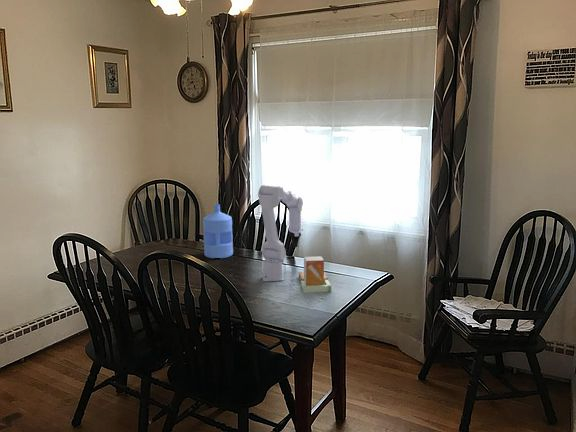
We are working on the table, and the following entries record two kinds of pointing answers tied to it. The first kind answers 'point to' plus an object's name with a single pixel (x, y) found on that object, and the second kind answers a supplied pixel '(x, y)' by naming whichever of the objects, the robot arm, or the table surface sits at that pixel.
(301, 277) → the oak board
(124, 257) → the table surface
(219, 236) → the water jug
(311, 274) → the small box
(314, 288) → the tray
